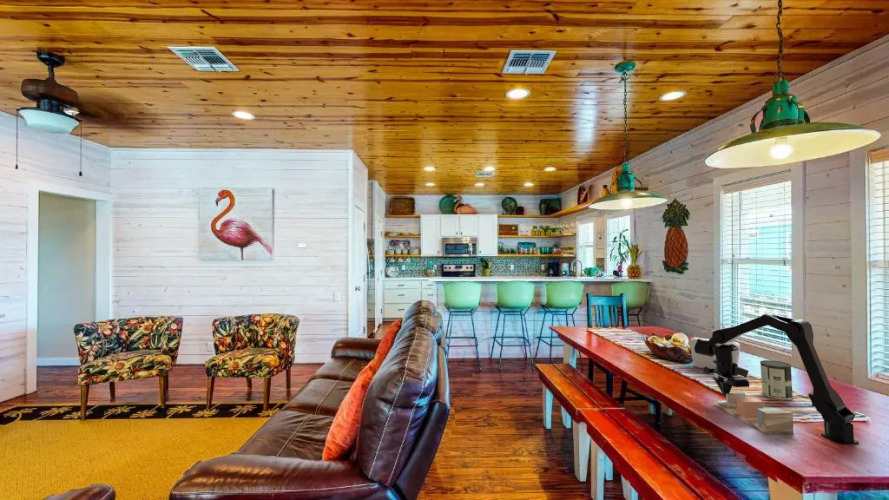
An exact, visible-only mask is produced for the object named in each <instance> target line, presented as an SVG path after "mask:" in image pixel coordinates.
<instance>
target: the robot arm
mask: <svg viewBox="0 0 889 500" xmlns="http://www.w3.org/2000/svg"><path fill="white" fill-rule="evenodd" d="M767 326H769V327H772V328H773V329H776V330H778V331H781V332H784V333H785V335H786V336H787V338H788V339H789V341H791V343H792V344H793V345H795V347H796V349H797V352H798V353H799V356H800V358H801V360H802V364H803V366H804V369H805V371H806V373H807V376H808V378H809V380H810V383H811V386H812V391H811V392H810V393H807V395H808V398H809V399H810V401H811V407H814V409H815V410H816V411H817V412H818V413H819V414H820V416H821V417H822V420H823V424H824V427H823V428H824V432H820V435H821V436H823V437H824V438H827V439H829V440H831V441H833V442H836V443H837V444H839V445H840V444H841V445H843V444H845V445H849V444H850V445H851V444H859V443H860V442H859V441H858V440H856V439H855V436H854V433H855V431H854V424H853V423H852V421H854V419H855V418H856V413H854V412H853V411H852V410H851V409H849V407H848V406H846V404H845V402H844V400H843V399H842V398H841V397H842V396H841V395H840V394H839V393H838V392H837V391H836V390H835V389H834V388H833V387H832V386H831V384H830V381H829V379H828V377H827V374H826V371H825V369H824V367H823V365H822V362H821V360H820V357H819V356H818V353H817V350H816V348H815V346H814V329H813V327H812V324H811V323H810V322H809V321H807V320H805V319H802V318H800V319H796V318H792V317H785V316H781V315H779V314H774V313H771V312H769V313H766V314H762V315H761V316H758V317H756V318H755V317H754V318H753V319H751V320H748V321H745V322H742V323H740V324H737V325H735V326H731V327H725V328H720V329H716V330H713V331H712V336H711V337H710V338H709V339H710V340H704V339H697V342H696V344H695V347H694V350H695V353H697V354H700V355H705V356H710V357H712V356H714V355H715V354H716V360H713V363H716V366H705V367H704V368H702V369H703V373H704V374H706V375H710V373H712V374H713V375H714V376H713V377H712V380H714V382H715V383H716V385H717V386H718V388H719V390H720V392H721V394H722V396H723V397H725V398H726V393H731V390H732V388H749V387H750V381H749V380H748V379H747V377H748V374H749V370H747V369H745V368H744V367H740V366H739V363H738V364H736V363H734V362H733V354H732V351H736V350H738V348H737V347H736V346H735V345H734V344H730V345H725V344H724V343H728V342H732V341H735V340H737V339H738V338H739V337H741V336H742V335H745V334H748V333H750V332H753V331H756V330H758V329H762V328H763V327H767ZM716 344H721V345H720V346H719V345H716Z"/></svg>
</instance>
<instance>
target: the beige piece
mask: <svg viewBox="0 0 889 500" xmlns="http://www.w3.org/2000/svg"><path fill="white" fill-rule="evenodd" d="M714 406H716V407H718V408H719V409H721V410H723V411H725V412H726V413H728V414H730V415H732V416H734V417H735V418H737V419H738V420H741V421H742V422H745V423H746V424H747V425H749V426H751V427H753V428H754V429H756V430H758V431H760V432H762V433H763V434H764V435H765V434H766V435H767V436H779V435H781V436H782V435H795V434H794V414H793V412H792V411H790V410H786V409H783V410H782V409H780V410H778V411H762V427H760V426H759V425H758V418H744V417H742V416H741V415H739V414H737V408H728V407H726V406H724V405H722V404H720V403H719V402H718V401H716V402H714Z"/></svg>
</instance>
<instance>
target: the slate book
mask: <svg viewBox="0 0 889 500" xmlns="http://www.w3.org/2000/svg"><path fill="white" fill-rule="evenodd" d="M778 410H781V409H780V408H776V407H774V408H773V407H771V408H770V407H769V408H764V409H758V425H759V426H760V427H762V411H778Z"/></svg>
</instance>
